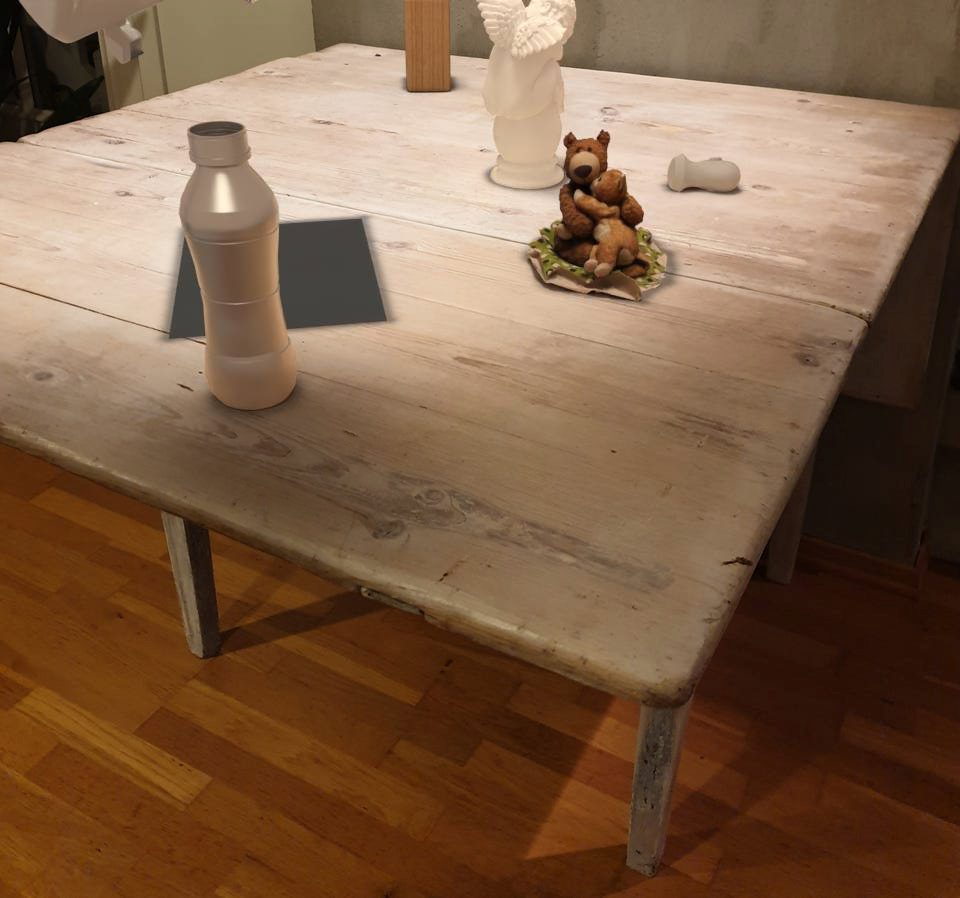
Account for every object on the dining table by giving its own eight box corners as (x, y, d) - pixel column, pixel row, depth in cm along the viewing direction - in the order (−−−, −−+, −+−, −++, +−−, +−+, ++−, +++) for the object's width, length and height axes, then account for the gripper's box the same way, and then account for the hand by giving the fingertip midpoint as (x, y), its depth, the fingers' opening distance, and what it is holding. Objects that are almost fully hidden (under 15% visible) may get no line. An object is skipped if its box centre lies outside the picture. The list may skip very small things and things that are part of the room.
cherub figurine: (553, 163, 118) (562, -37, 106) (601, 196, 109) (618, -19, 96) (460, 175, 114) (459, -30, 102) (502, 211, 105) (506, -11, 92)
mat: (169, 344, 80) (168, 338, 79) (186, 234, 99) (185, 229, 99) (387, 325, 82) (387, 320, 82) (362, 222, 102) (361, 218, 102)
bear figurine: (514, 297, 87) (518, 163, 80) (537, 234, 99) (541, 113, 92) (668, 310, 85) (685, 173, 78) (671, 244, 97) (686, 121, 90)
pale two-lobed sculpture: (733, 196, 112) (740, 198, 107) (663, 191, 113) (667, 193, 108) (738, 157, 111) (745, 157, 106) (668, 153, 112) (672, 152, 107)
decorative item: (449, 81, 151) (447, -63, 140) (450, 92, 145) (449, -57, 134) (406, 81, 150) (401, -63, 139) (406, 92, 145) (401, -57, 134)
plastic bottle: (239, 370, 76) (198, 110, 65) (316, 385, 74) (288, 120, 63) (193, 411, 71) (139, 137, 60) (274, 428, 69) (235, 149, 58)
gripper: (313, -280, 52) (287, -71, 65) (-36, -169, 44) (11, 49, 56) (389, -199, 52) (348, -4, 64) (52, -69, 43) (80, 128, 56)
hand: (189, 22), depth 60 cm, fingers open, 8 cm apart
